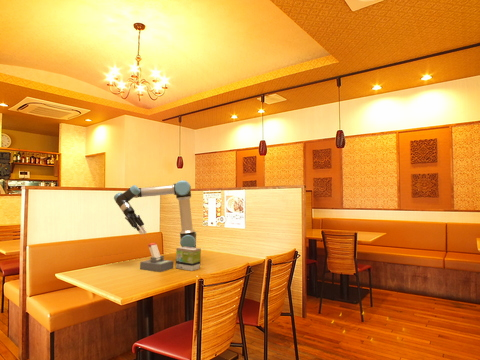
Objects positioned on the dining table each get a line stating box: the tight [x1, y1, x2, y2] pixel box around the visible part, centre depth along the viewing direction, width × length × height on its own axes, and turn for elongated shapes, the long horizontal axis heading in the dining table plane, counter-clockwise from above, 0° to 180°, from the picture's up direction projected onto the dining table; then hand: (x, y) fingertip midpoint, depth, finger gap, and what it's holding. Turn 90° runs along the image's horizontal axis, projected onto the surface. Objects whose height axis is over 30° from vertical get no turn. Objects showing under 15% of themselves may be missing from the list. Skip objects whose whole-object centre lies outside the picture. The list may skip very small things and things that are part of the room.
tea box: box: [175, 246, 202, 272], centre depth 219 cm, size 15×10×15 cm, turn 62°
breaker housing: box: [139, 255, 174, 273], centre depth 217 cm, size 18×14×8 cm
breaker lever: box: [147, 242, 162, 261], centre depth 218 cm, size 3×6×13 cm, turn 157°
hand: (143, 233), depth 223 cm, fingers open, 3 cm apart
